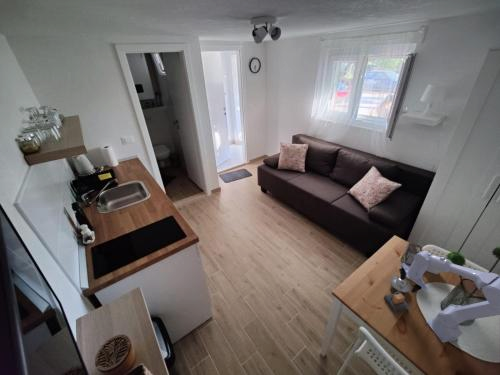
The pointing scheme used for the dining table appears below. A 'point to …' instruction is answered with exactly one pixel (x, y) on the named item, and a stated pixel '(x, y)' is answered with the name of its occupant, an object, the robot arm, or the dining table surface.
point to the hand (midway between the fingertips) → (407, 285)
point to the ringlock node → (400, 287)
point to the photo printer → (432, 270)
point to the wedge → (398, 299)
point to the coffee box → (410, 254)
